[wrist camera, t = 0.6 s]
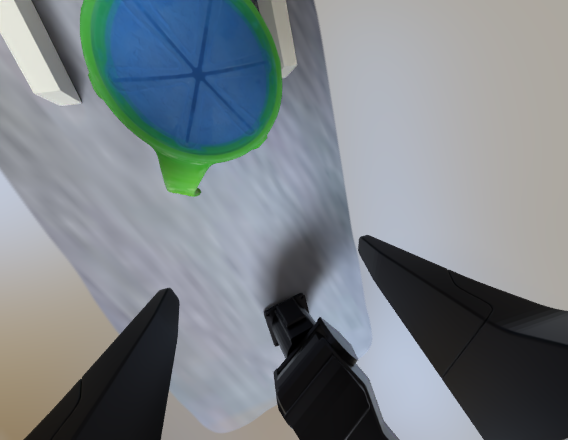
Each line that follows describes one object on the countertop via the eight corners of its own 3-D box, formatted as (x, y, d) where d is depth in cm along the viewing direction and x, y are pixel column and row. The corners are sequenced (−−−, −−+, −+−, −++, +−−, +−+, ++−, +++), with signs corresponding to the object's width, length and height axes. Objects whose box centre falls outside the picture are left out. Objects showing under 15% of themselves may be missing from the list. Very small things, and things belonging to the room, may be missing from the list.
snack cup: (162, -2, 18) (123, -189, 9) (269, 68, 22) (318, -6, 13) (116, 168, 19) (39, 164, 10) (226, 202, 24) (243, 220, 14)
